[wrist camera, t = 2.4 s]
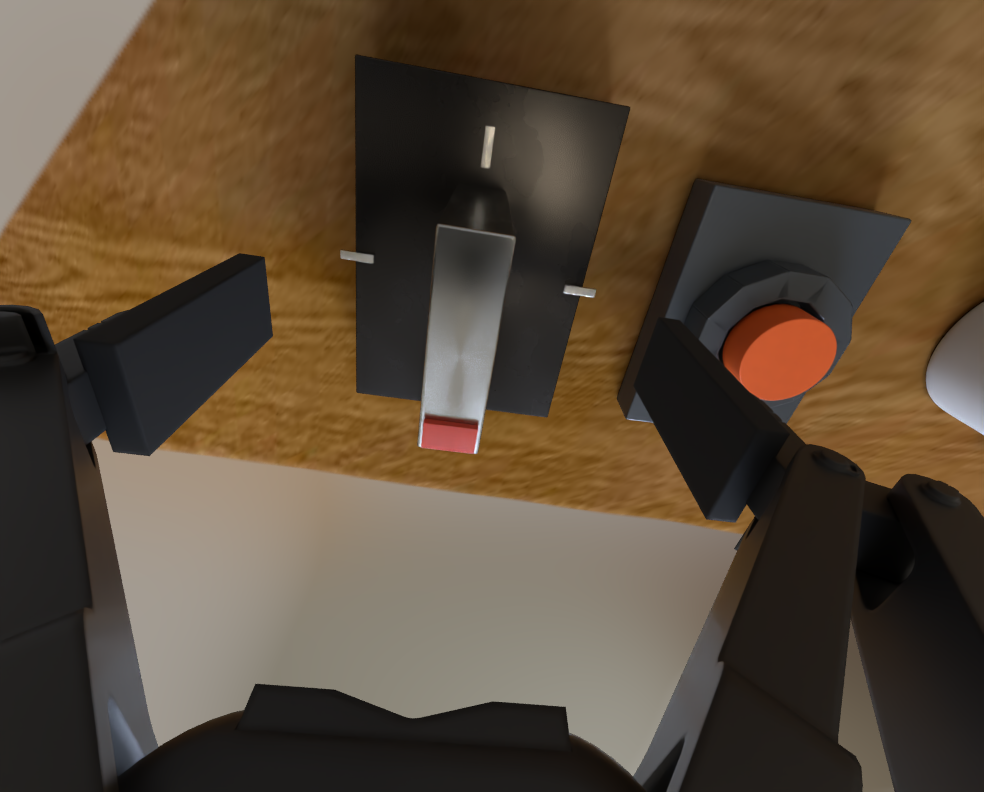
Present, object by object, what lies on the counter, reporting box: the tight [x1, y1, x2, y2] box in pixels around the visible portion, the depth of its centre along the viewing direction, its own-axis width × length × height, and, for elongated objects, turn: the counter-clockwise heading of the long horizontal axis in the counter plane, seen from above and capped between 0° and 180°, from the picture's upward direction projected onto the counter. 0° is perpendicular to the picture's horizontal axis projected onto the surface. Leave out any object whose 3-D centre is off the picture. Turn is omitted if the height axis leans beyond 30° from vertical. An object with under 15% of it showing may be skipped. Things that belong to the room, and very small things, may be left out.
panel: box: [340, 55, 630, 417], centre depth 21 cm, size 14×11×3 cm
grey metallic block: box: [417, 184, 516, 454], centre depth 16 cm, size 7×2×8 cm, turn 171°
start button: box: [722, 304, 837, 401], centre depth 20 cm, size 4×4×2 cm
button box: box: [617, 179, 911, 424], centre depth 22 cm, size 12×9×4 cm
